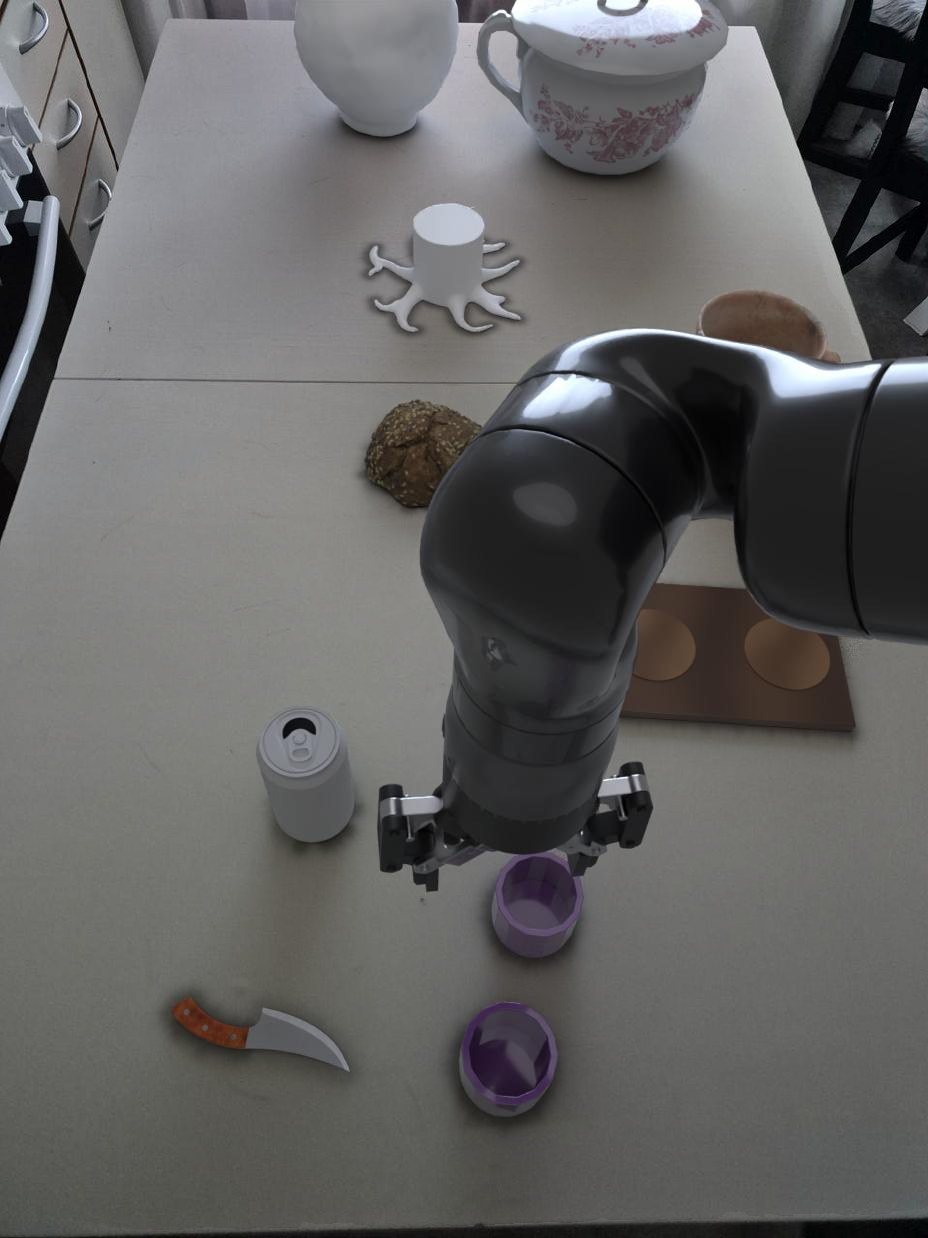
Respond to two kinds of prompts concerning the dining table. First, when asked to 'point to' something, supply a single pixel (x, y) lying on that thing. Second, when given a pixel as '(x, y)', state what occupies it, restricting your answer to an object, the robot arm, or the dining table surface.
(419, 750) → the dining table surface
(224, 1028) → the knife
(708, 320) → the ceramic jug
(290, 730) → the beverage can
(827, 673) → the serving board
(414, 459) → the bread roll
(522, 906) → the ramekin
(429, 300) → the tree stump
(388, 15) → the vase
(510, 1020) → the ramekin
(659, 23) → the chamber pot
